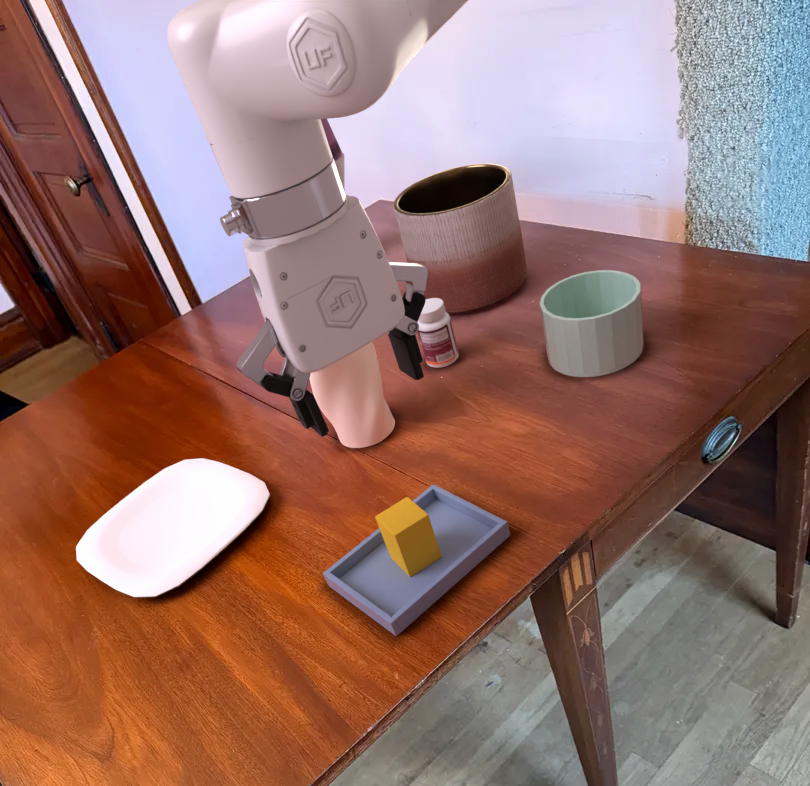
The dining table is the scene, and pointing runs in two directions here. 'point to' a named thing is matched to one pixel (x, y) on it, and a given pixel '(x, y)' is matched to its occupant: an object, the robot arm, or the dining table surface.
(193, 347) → the dining table surface
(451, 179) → the planter
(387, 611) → the tray
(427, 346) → the pill bottle
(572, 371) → the mint faceted tub
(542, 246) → the dining table surface
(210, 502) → the plate
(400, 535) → the yellow block
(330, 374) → the water bottle
